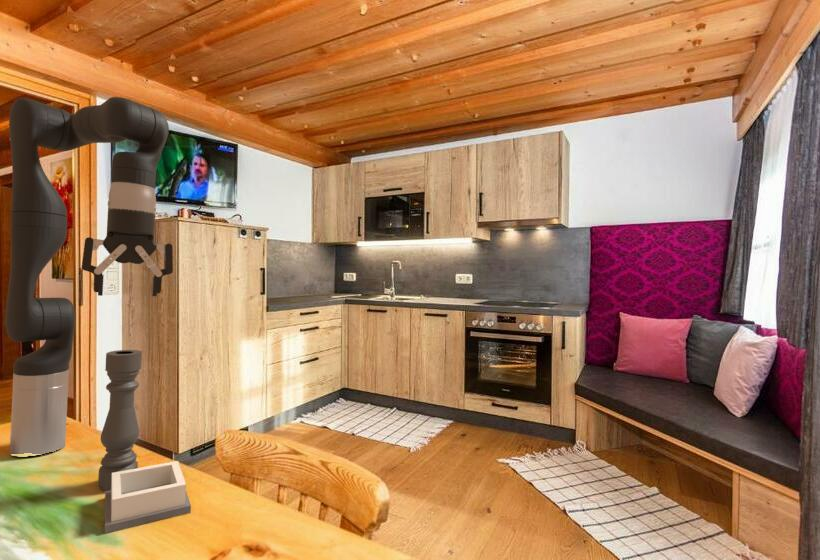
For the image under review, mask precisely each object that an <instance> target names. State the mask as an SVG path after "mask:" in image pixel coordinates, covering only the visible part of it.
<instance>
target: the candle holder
mask: <svg viewBox="0 0 820 560" xmlns="http://www.w3.org/2000/svg"><path fill="white" fill-rule="evenodd" d="M142 358H143V351H141V350H138V349H137V350H136V349H120V350H113V351H108V352H106V354H105V369H104V371H106V375H107V377H108V379H109V380H110V382H109V383H107V384H106V386H105V389H106V390H107V391H108V393H109V409H108V412H107V415H106V419H105V422H104V426H103V427H102V431H101V434H100V442H101V444H102V445H103V447H104V448H105V451H106V453H105V454H104V457H102V458H101V461H100V465H101V466H100V467H99V469H98V477H97V478H98V480H97V488H98V487H99V489H100V490H102V491H101V492H104V491H110V490H111V479H112V473H114V472H119V471H125V470H130V469H136V468H139V462H138V461H137V457H138V454H137V453H135V451H134V450H133V449H134V444H135V443H136V442H137V440H138V439H139V436H140V426H139V423H138V418H137V414H136V413H137V412H136V409H135V391H136V390H137V389H138V388H139V386H140V383H139V382H138V381H136V378H137V376H138V375H139V373H140V370H141V369H142V362H143V361H142ZM99 489H98V490H99ZM100 490H99V491H100Z"/></svg>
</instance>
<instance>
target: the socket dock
mask: <svg viewBox="0 0 820 560" xmlns="http://www.w3.org/2000/svg"><path fill="white" fill-rule="evenodd" d="M104 493H105V494H104V495H105V496H104V534H108V533H109V534H110V533H113V532H117V531H120V530H125V529H129V528H134V527H137V526H140V525H145V524H149V523H154V522H158V521H161V520H165V519H166V520H167V519H170V518H174V517H177V516H182V515H186V514H191V511H192V505H191V501H190V499H189V496H188V492H187V483H186V480H185V477H184V473H183V472H182V468H181V466H180V464H179V460H175V461H171V462H169V461H168V462H164V463H158V464H153V465H148V466H142V467H138V468H136V469H130V470H125V471H119V472H114V473H112V479H111V490H110V491H105V492H104Z"/></svg>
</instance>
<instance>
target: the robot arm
mask: <svg viewBox="0 0 820 560" xmlns="http://www.w3.org/2000/svg"><path fill="white" fill-rule="evenodd" d="M8 118H9V119H8V125H9V126H8V129H9V143H10V153H11V155H10V156H11V167H12V169H11V170H12V177H11V178H12V182H11V183H12V187H11V188H12V190H11V207H10V270H9V271H10V272H9V281H8V287H7V289H8V290H7V298H6V306H5V317H4V318H5V320H4V321H5V329H6V330H5V332H6V334H7V337H8V338H9V339H10V340H11V341H12V342H16V343H24V342H25V343H26V342H37V341H44V343H43V344H42V346H40V347H39V348H38V349H36V350H34V351H33V352H30V353H28V354H24V355H23V356H20V357H18V358H17V359H16V360H15V361H14V363H13V371H12V372H13V373H12V374H13V375H12V400H11V418H10V419H11V420H10V421H11V422H10V434H9V435H10V436H9V438H10V439H9V441H10V442H9V455H10V454H24V453H32V454H44V453H49V452H53V453H55V452H57V451H56V450H58V451H60V450H62V449H63V448H64V447H65V446H66V437H67V436H66V433H67V415H68V398H69V394H68V393H69V376H70V375H69V374H70V361H71V358H72V354H73V343H74V335H75V328H76V309H75V307H74V304H73V302H72V301H71V300H70V299H69V298H67V297H35V290H36V286H37V283H38V280H39V277H40V275H41V273H42V271H43V270H44V268H45V267H46V266H48V264H49V263H50V262H51V261H52V259H53V258H54V257H55V256H56V255H57V253H58V252H59V251H60V249H61V248H62V247H63V246H64V243H66V241H67V240H66V239H67V237H68V236H67V234H68V232H67V231H68V210H67V206H66V204H65V201H63V199H62V197H61V195H60V194H59V192H58V191H57V189H56V188H55V186H54V184H53V183H52V182H51V181H50V179H49V178H48V176H47V174H46V172H45V171H44V168H43V166H42V164H41V160H40V155H39V148H44V149H49V150H53V151H58V152H67V151H72V150H75V149H78V148H79V149H80V148H81V147H84V146H87V145H88V146H89V145H90V144H99V143H100V144H101V143H102V144H105V143H106V144H107V143H108V144H110V143H111V144H113V143H115V144H116V143H120V142H124V141H126V140H128V141H132V142H136V143H138V147H137V149H136V151H119V152H116V153H114V154H113V156H112V161H111V174H110V175H111V176H110V177H111V179H110V187H109V192H108V201H107V222H106V223H107V224H106V236H105V238H104V239H97V238H93V237H91V236H90V237H86V238H85V239H84V246H83V247H84V248H83V254H82V262H81V270H82V271H86V272H88V273H91V274H93V291H94V293H97V296H101V297H102V296H104V295H103V292H104V276H105V275H104V274H103V272H104V271H105V270H107V268H108V267H110V266H111V265H112V264H113V263H114V262H117V263H119V264H128V263H130V264H134V265H141V264H143V263H144V264H145V265H146V267H147V268H148V269H149V270H150V272H152V274H153V276H152V282H151V285H152V286H151V297H158V294H161V292H162V281H163V280H162V278H163V277H164V276H167V275H171V274H173V272H174V271H173V270H174V267H173V266H174V261H173V259H174V257H173V252H174V251H173V244H172V243H165V244H164V243H163V244H162V243H159V244H158V243H156V241H155V227H156V226H155V225H156V213H157V206H156V205H157V197H156V181H157V180H156V179H157V168H158V165H159V163H160V162H159V161H160V159H161V155H162V153H163V150H164V148H165V144H166V142H167V140H168V137H169V132H170V128H169V127H170V126H169V123H168V119H167V118H166V116H165V115H164V114H163V112H161V111H159V110H158V109H155V108H152V107H149V106H147V105H144V104H143V103H139V102H137V101H135V100H131V99H128V98H125V97H120V96H111V97H109V98H108V99H107V100H105V101H104V102H102V103H101V104H98V105H97V104H96V105H88V106H84V107H82V108H79V109H78V110H77V111H75V112H74V113H71V112H68V111H67V110H64V109H62V108H59V107H56V106H52V105H49V104H46V103H43V102H41V101H36V100H34V99H31V98H27V97H26V98H25V97H19V98H17V99H15V100H14V101H13V103H12V105H11V107H10V110H9V117H8ZM38 147H39V148H38ZM100 246H103V247H104V249H105V250H106V251H107V253H108V254H109V255H107V257H106V258H105V259H103V260H102V262H101V263H99V264H98V265H97V266H95V265H93V264H92V258H93V251H96V250H98V249H99V247H100ZM156 250H158V251H159V254H160V255H162V256H164V257H163V259H164V264H163V265H164V266H163V267H164V268H161V269H160V268H159V267H158V265H157V264H156V263H155V262H154V260H153V258H151V256H152V254H153V253H154V252H155V251H156ZM59 449H60V450H59ZM54 451H55V452H54ZM49 454H50V453H49Z"/></svg>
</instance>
